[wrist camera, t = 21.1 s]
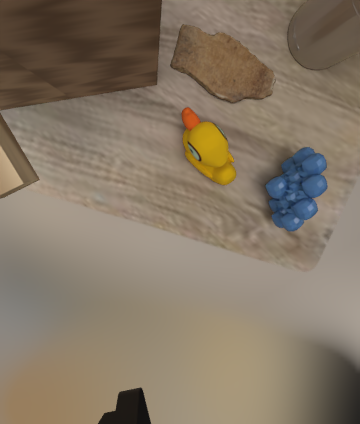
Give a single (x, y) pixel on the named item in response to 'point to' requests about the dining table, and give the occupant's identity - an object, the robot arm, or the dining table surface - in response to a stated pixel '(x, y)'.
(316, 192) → the grapes
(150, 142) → the dining table surface
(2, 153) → the mallet
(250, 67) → the pottery shard
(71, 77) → the stepped stand
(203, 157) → the duckling
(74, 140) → the dining table surface
